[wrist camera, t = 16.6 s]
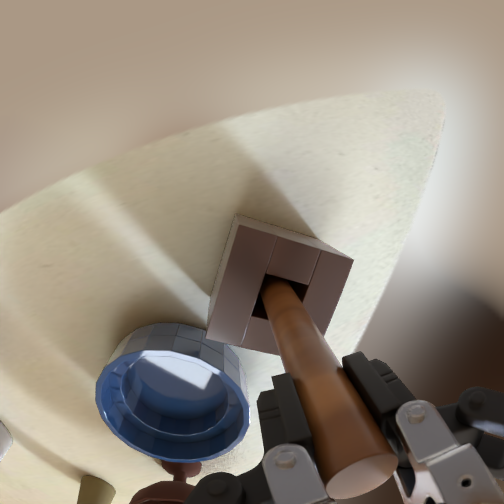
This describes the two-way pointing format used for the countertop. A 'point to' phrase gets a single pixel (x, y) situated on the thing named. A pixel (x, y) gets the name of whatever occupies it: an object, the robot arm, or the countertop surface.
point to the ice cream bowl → (169, 485)
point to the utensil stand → (277, 264)
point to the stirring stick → (327, 399)
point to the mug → (4, 440)
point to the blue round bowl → (174, 394)
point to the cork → (95, 491)
